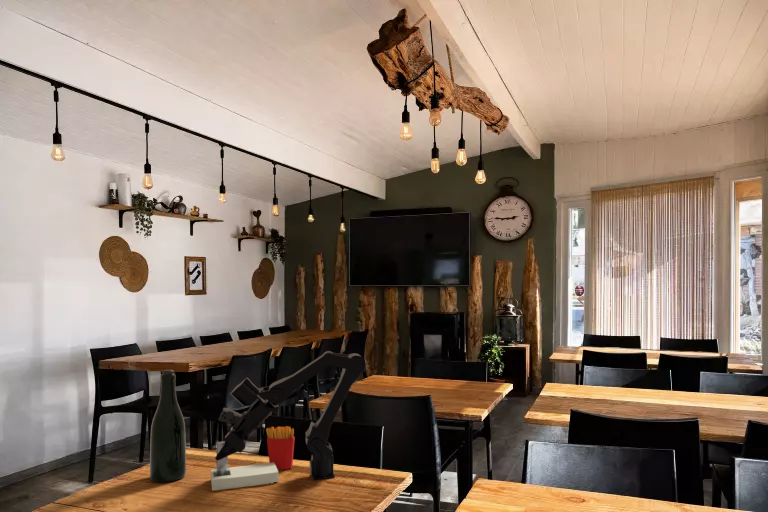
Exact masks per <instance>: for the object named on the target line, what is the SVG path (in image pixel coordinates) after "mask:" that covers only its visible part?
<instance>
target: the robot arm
mask: <svg viewBox="0 0 768 512" xmlns="http://www.w3.org/2000/svg"><path fill="white" fill-rule="evenodd" d="M329 366H332V367H337V368H340V369H342V370H341V374H340V379H339V381H338V382H337V384H336V386H335V387H334V390H333V392H332V394H331V396H330V398H329V400H328V402H327V403H326V406H325V408H324V410H323V411H322V413H321V415H320V417H319V419H318V420H317V421H316V422H313V421H311V422H310V424H309V427H308V429H307V430H306V431H305V444H306V448H307V449H308V452H310V453H312V454H310V455H311V456H310V457H311V459H310V460H309V474H310V476H311V477H312V478H313V480H314V481H315V480H322V479H323V478H324V479H330V478H331V477H332V478H336V474H334V454H333V453H334V451H333V448H332V445H331V443H329V441H328V439H329V436H330V431H331V426H332V424H333V423H334V420H335V418H336V417H337V415H338V413H339V411H340V409H341V407H342V405H343V403H344V401H345V399H346V397H347V396H348V393H349V390H350V389H351V387H352V386H353V385H354V383H355V382H356V381H357V380H358V378H360V376H361V375H362V373H363V372H364V371H365V370H366V367H367V363H366V361H365V358H364V357H362V355H360V354H359V353H354V352H353V353H350V354H344V353H336V352H332V351H330V350H326V351H325V352H323V353H322V355H319V356H318V357H317V358H315V359H314V360H312V361H311V362H310V363H308V364H306V365H305V366H303V367H302V368H301V369H299V370H297V371H296V372H295V373H292V374H291V375H289V376H286V377H283V378H281V379H279V380H276V381H274V382H272V383H271V384H270V385H268V386H263V387H257V386H256V385H255V384H254V383H253V382H252V381H251V380H250V378H249V377H245V379H243V380H242V381H241V382H240V383H238V384H237V385H236V386H235V387H234V388H233V390H232V391H231V392H230V393H229V395H231V396H232V398H234V400H236V401H237V403H239V404H240V405H241V406H242V407H245V406H246V407H249V409H247V411H244V412H242V413H239V412H237V411H235V410H232V409H230V408H227V407H223V408H222V411H221V413H220V415H219V418H218V421H219V422H221V423H226V424H228V426H229V427H227V433H226V434H225V436H224V441H225V444H224V445H223V447H222V448H221V450H220V451H219V453H218V454H217V453H216V456H215V458H214V460H216V462H217V461H218V460H220V459H222V458H225V457H227V456H228V457H229V456H231V455H233V454H236V453H240V454H241V453H242V452H243V451H244V450H245V449H246V446H247V441H248V440H249V439H250V436H252V434H253V433H254V432H256V431H257V430H259V428H260V425H262V423H263V422H264V421H265V420H266V419H267V418H269V416H270V415H271V414H273V415H274V416H275V417H278V416H279V409H280V407H279V404H282V403H284V402H285V401H286V400H287V399H288V398H289V397H290V396H291V395H292V394H293V393H294V392H295V391H296V390H297V389H298V388H299V387H300V386H301V385H303V384H305V383H306V382H307V381H309V380H311V379H312V378H313V377H315V376H317V375H318V374H319V373H321V372H322V371H324V370H325V369H327V368H328V367H329ZM274 404H276V405H274Z"/></svg>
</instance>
